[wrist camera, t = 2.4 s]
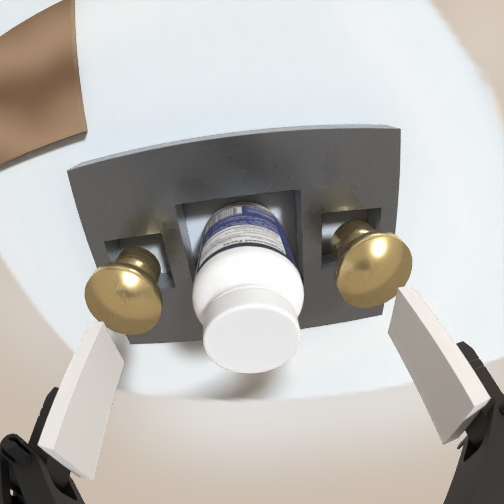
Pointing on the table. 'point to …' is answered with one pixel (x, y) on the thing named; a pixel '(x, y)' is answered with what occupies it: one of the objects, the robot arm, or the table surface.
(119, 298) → the plunger
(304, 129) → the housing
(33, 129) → the coaster
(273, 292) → the pill bottle
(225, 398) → the table surface
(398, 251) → the plunger
